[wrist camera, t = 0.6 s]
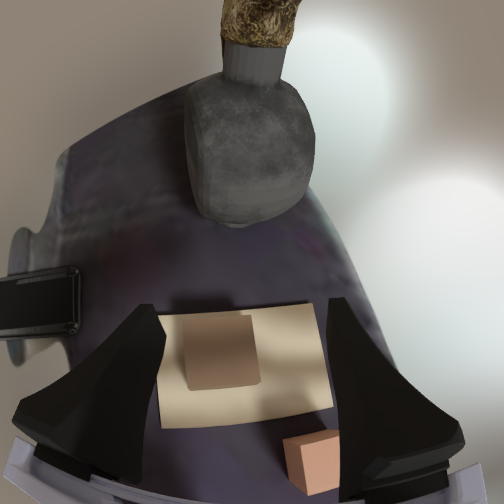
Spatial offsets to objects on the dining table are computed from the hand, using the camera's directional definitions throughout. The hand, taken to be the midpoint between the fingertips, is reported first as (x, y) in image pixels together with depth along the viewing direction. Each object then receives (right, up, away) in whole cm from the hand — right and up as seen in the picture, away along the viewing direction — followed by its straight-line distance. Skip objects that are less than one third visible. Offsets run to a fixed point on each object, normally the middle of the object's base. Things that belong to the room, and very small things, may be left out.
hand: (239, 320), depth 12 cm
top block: (+6, -16, +11) cm, 20 cm away
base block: (-3, -7, +14) cm, 16 cm away
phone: (-25, -4, +14) cm, 29 cm away
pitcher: (-2, +10, +25) cm, 27 cm away
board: (-1, -8, +15) cm, 17 cm away
